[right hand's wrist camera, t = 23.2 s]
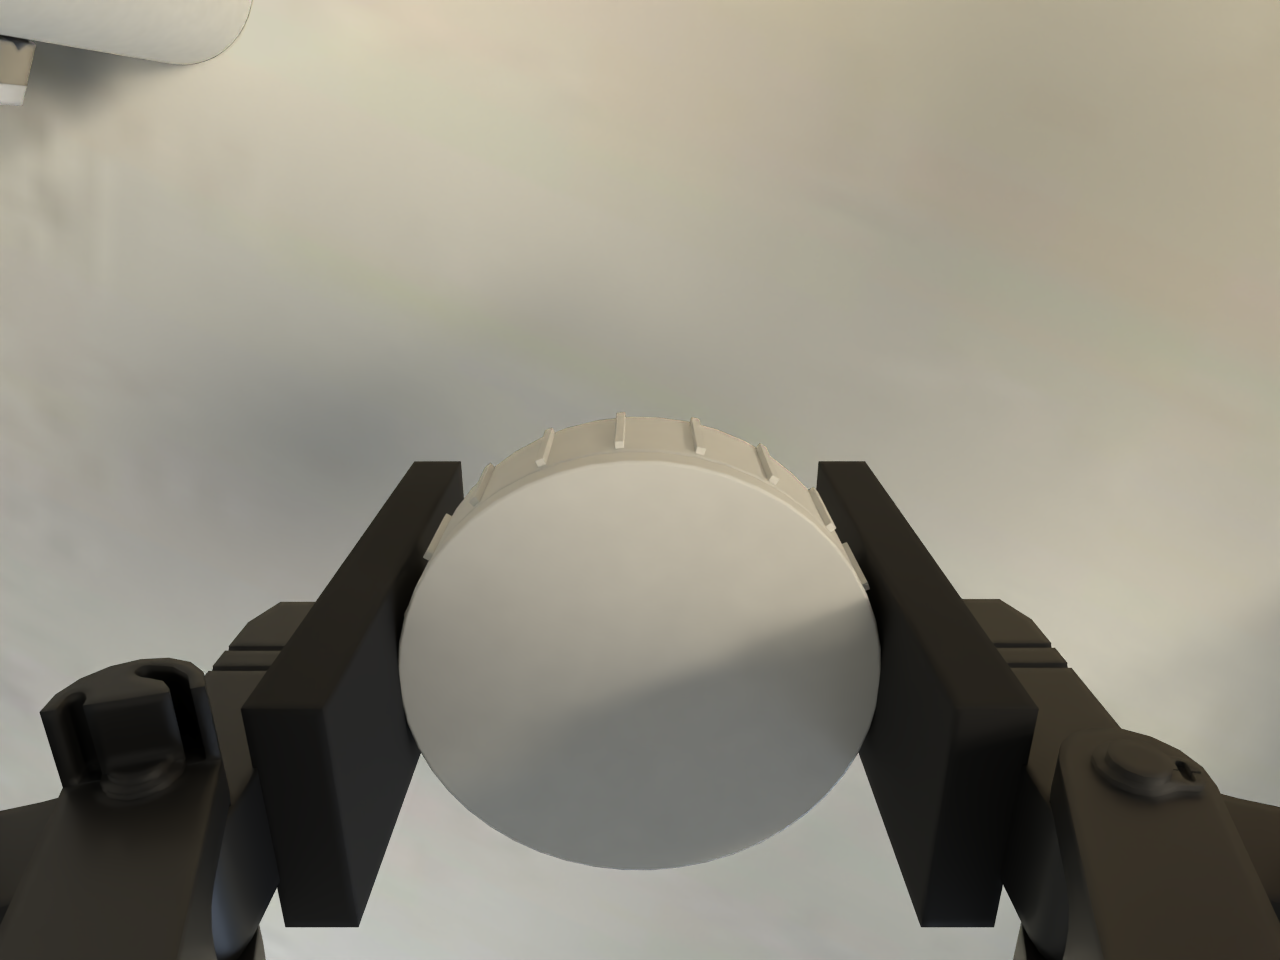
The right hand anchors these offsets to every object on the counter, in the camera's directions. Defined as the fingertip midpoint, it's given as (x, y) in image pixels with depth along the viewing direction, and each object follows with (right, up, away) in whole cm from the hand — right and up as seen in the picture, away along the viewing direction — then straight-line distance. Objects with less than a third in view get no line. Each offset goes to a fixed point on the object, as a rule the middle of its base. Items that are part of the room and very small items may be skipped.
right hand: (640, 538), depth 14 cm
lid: (0, -1, -4) cm, 4 cm away
